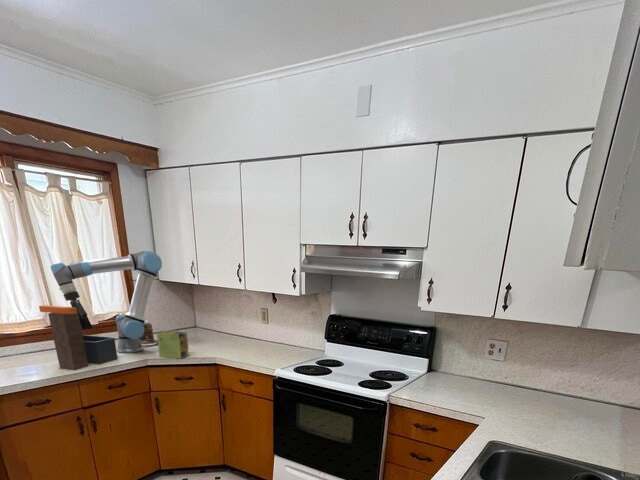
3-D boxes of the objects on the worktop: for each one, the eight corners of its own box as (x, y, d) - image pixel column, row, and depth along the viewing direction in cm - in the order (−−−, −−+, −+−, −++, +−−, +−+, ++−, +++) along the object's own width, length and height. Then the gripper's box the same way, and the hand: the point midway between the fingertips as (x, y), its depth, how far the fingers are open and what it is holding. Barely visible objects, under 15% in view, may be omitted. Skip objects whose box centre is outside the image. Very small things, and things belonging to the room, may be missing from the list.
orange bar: (40, 311, 231) (38, 306, 229) (47, 310, 235) (45, 305, 233) (70, 314, 226) (69, 308, 225) (77, 313, 230) (76, 307, 229)
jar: (140, 340, 317) (137, 319, 311) (156, 340, 317) (153, 320, 311) (134, 343, 306) (131, 322, 300) (150, 343, 306) (147, 322, 300)
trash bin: (65, 361, 254) (61, 339, 248) (85, 355, 267) (81, 334, 262) (99, 364, 248) (95, 342, 243) (117, 358, 262) (114, 337, 257)
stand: (60, 368, 238) (47, 313, 226) (74, 364, 247) (63, 311, 235) (74, 370, 236) (63, 314, 224) (88, 365, 245) (78, 312, 233)
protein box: (181, 358, 267) (178, 333, 261) (159, 356, 270) (156, 332, 264) (189, 355, 277) (187, 331, 271) (167, 353, 280) (165, 329, 274)
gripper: (59, 295, 248) (77, 331, 257) (66, 292, 230) (85, 330, 238) (72, 292, 252) (89, 327, 261) (81, 288, 233) (98, 326, 242)
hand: (87, 328), depth 249 cm, fingers open, 13 cm apart
